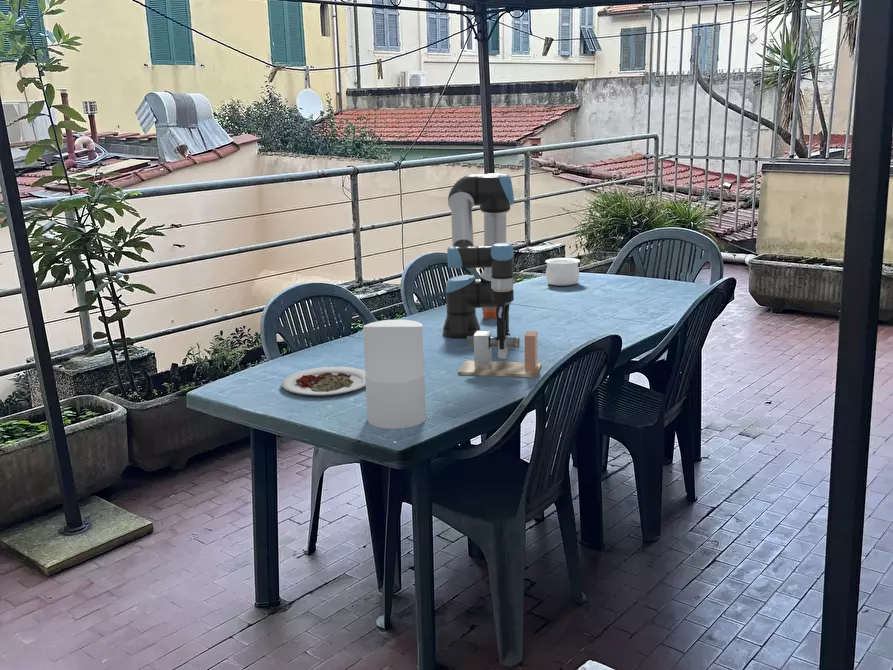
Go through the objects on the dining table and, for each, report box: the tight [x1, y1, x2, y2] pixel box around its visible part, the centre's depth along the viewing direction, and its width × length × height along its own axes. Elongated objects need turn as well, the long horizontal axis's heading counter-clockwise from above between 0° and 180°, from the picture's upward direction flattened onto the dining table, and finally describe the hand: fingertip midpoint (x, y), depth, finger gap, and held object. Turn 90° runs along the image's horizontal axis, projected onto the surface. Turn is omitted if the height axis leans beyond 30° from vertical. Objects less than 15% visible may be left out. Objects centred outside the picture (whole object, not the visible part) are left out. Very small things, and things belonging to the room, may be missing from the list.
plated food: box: [281, 366, 366, 396], centre depth 291 cm, size 30×30×3 cm
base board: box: [457, 359, 542, 378], centre depth 301 cm, size 27×14×1 cm, turn 78°
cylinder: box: [362, 319, 427, 430], centre depth 253 cm, size 17×17×28 cm
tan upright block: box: [524, 330, 539, 371], centre depth 297 cm, size 4×7×12 cm, turn 168°
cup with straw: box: [481, 308, 497, 320], centre depth 375 cm, size 9×9×18 cm
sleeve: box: [473, 330, 493, 369], centre depth 301 cm, size 5×6×12 cm
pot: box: [545, 257, 581, 286], centre depth 440 cm, size 22×17×12 cm
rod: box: [466, 336, 521, 349], centre depth 299 cm, size 18×4×4 cm, turn 78°
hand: (503, 355), depth 300 cm, fingers closed on rod, 4 cm apart
